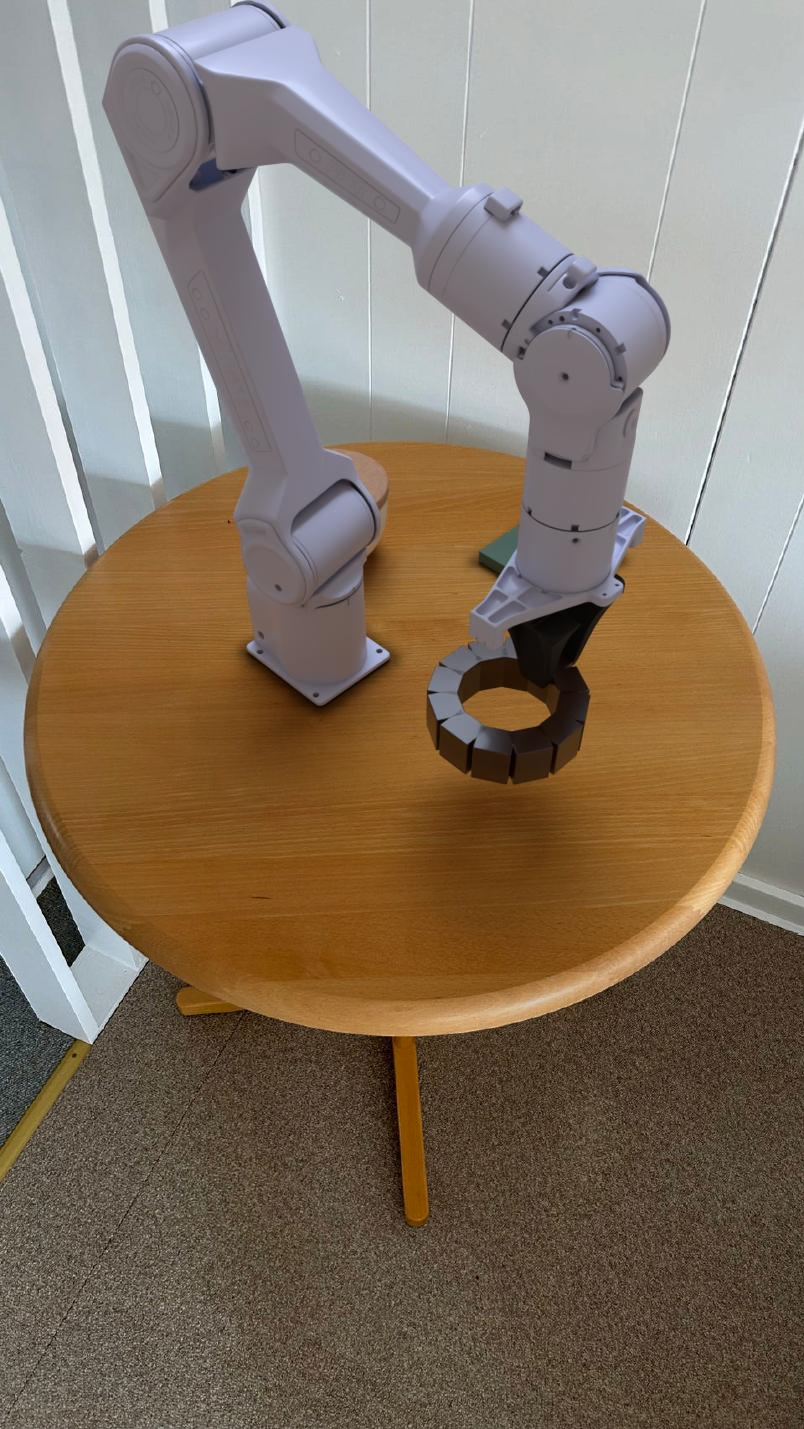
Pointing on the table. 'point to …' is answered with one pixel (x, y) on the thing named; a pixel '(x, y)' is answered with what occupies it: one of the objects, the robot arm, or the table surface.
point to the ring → (496, 748)
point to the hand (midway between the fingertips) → (547, 669)
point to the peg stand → (500, 551)
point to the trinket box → (371, 485)
